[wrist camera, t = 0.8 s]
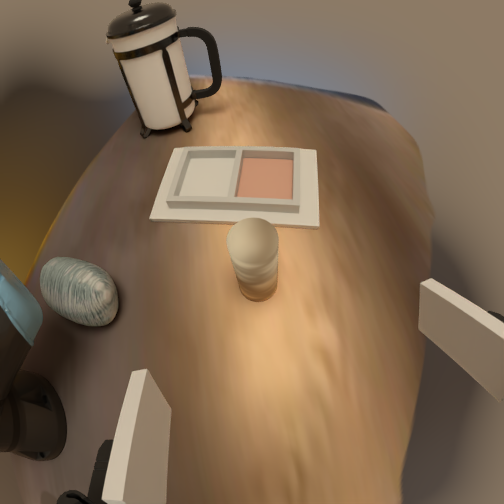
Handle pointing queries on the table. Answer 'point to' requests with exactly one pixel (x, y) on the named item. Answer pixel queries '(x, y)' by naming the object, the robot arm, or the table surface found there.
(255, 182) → the white flat tray
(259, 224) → the peg
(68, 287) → the yarn ball
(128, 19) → the coffee press
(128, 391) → the robot arm
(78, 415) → the table surface
